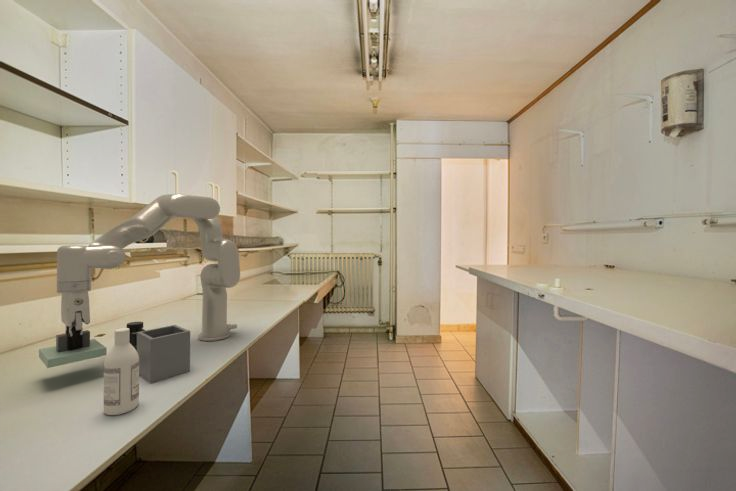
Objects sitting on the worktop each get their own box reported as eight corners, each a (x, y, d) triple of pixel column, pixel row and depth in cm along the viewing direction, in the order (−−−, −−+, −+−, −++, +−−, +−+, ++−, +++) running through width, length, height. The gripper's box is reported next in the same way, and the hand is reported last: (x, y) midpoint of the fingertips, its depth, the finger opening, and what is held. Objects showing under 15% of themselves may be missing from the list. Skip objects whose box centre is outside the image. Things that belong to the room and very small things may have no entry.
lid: (94, 345, 102) (94, 325, 102) (106, 355, 95) (106, 332, 95) (38, 356, 92) (39, 334, 92) (47, 368, 84) (47, 343, 84)
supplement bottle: (133, 361, 107) (133, 326, 107) (117, 359, 108) (117, 324, 108) (150, 353, 114) (151, 321, 113) (135, 352, 115) (135, 319, 115)
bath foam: (134, 398, 83) (135, 323, 82) (142, 408, 78) (143, 329, 78) (100, 408, 77) (101, 329, 77) (106, 419, 73) (107, 335, 73)
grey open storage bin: (174, 362, 106) (175, 324, 106) (189, 371, 100) (190, 331, 100) (136, 373, 98) (136, 332, 97) (150, 383, 91) (150, 339, 91)
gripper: (98, 288, 91) (97, 350, 92) (83, 282, 101) (83, 339, 101) (63, 291, 85) (62, 357, 85) (51, 285, 95) (50, 344, 95)
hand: (73, 347), depth 93 cm, fingers closed on lid, 2 cm apart
